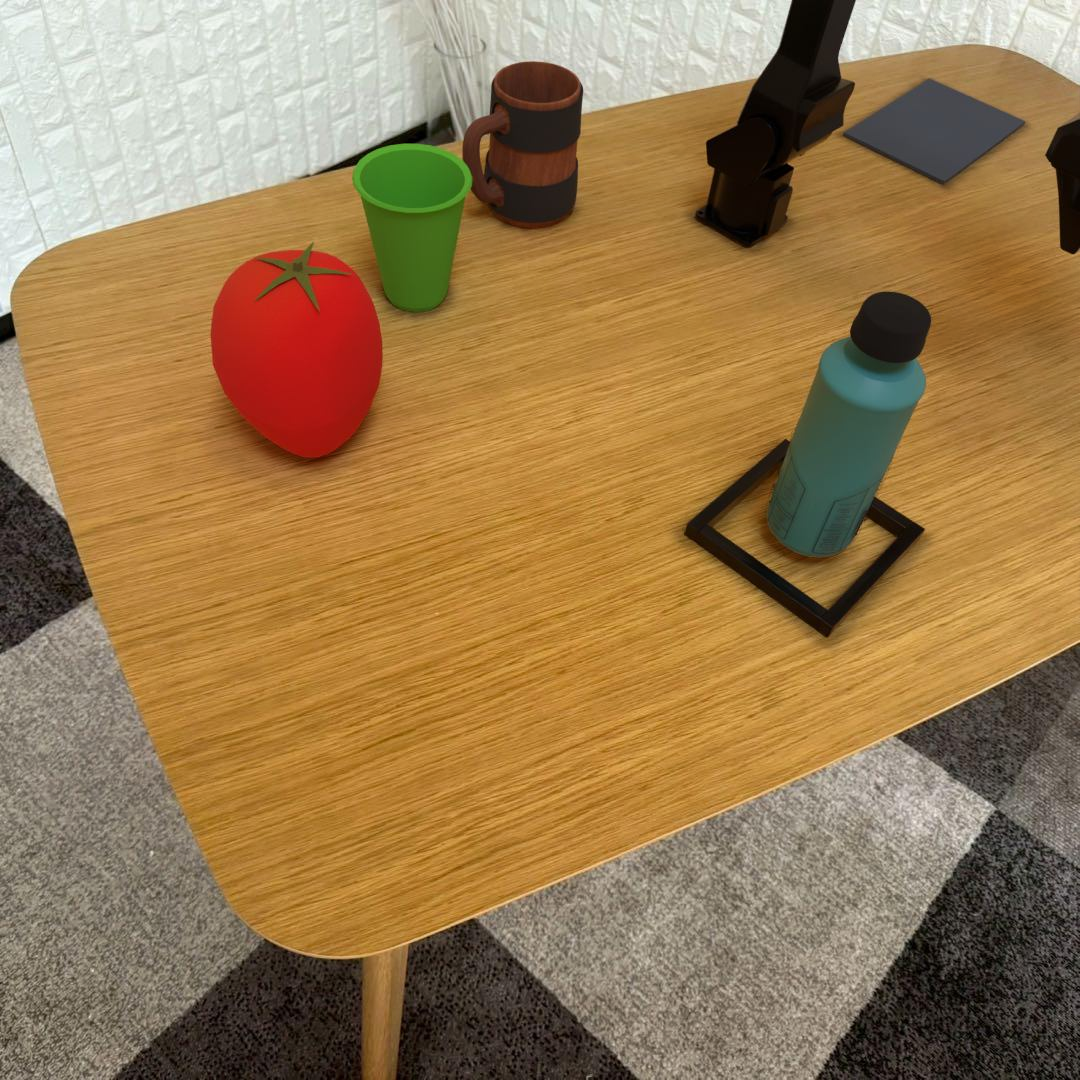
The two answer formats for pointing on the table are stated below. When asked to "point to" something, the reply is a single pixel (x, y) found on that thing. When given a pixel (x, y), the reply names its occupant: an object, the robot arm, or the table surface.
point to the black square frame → (775, 584)
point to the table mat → (935, 130)
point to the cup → (413, 218)
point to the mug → (528, 144)
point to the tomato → (298, 348)
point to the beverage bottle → (850, 427)
